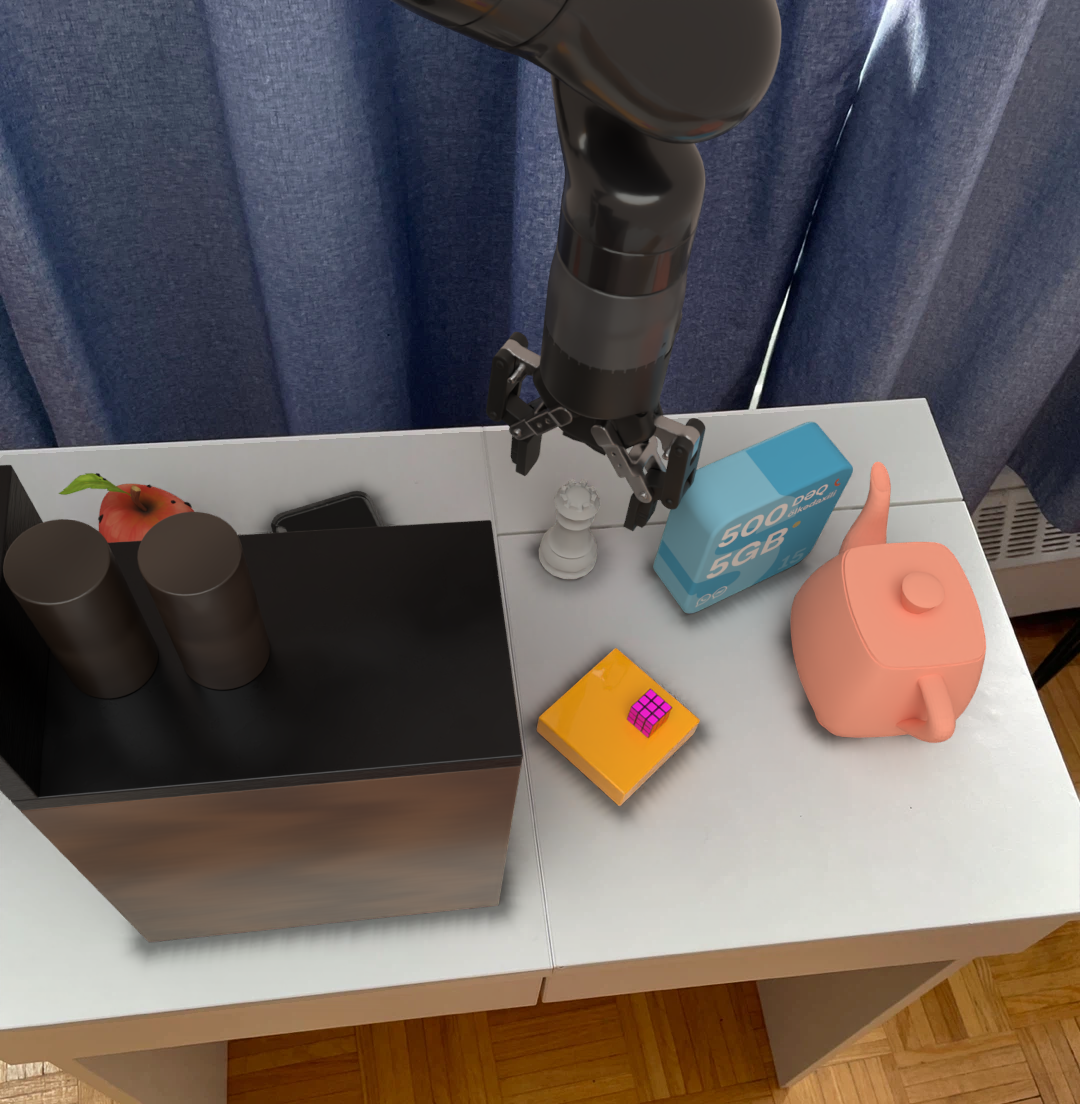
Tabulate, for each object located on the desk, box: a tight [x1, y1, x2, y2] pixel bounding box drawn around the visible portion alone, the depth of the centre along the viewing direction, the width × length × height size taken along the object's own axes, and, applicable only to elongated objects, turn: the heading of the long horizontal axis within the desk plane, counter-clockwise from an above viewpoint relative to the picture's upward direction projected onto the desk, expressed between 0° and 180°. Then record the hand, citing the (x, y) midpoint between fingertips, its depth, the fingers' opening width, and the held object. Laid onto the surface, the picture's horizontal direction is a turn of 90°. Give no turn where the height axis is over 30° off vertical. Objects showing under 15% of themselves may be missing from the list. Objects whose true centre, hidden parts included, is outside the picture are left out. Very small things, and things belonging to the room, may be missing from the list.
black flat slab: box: [0, 464, 524, 811], centre depth 48 cm, size 22×13×7 cm, turn 97°
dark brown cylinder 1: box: [3, 518, 158, 699], centre depth 46 cm, size 4×4×8 cm
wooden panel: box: [19, 765, 522, 943], centre depth 62 cm, size 22×13×23 cm, turn 97°
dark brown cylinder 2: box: [137, 511, 270, 690], centre depth 46 cm, size 4×4×8 cm
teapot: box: [790, 461, 987, 744], centre depth 75 cm, size 20×12×12 cm, turn 8°
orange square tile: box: [536, 647, 701, 807], centre depth 75 cm, size 8×8×4 cm
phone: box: [270, 490, 385, 533], centre depth 79 cm, size 8×1×15 cm
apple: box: [57, 472, 196, 543], centre depth 75 cm, size 8×7×10 cm
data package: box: [653, 421, 854, 614], centre depth 78 cm, size 12×4×12 cm, turn 120°
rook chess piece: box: [538, 478, 601, 580], centre depth 79 cm, size 4×4×8 cm
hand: (580, 493), depth 76 cm, fingers open, 8 cm apart
